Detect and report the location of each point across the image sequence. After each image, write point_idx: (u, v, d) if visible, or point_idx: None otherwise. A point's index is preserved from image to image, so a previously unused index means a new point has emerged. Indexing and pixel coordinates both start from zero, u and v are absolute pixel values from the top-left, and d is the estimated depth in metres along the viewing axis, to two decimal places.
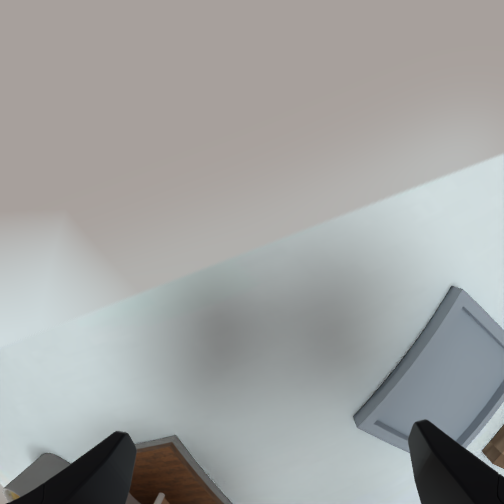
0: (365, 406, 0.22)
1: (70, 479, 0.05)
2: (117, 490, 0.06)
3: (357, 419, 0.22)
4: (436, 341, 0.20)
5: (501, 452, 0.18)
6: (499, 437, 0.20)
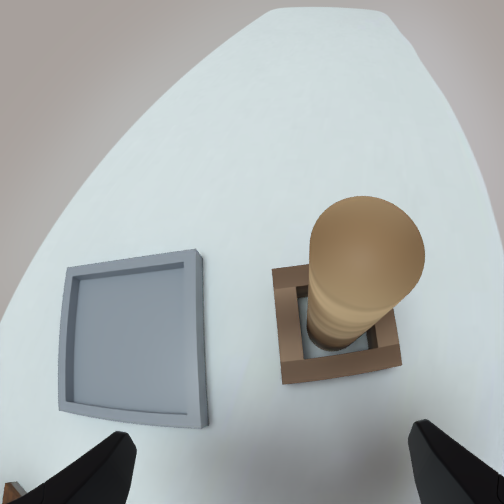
0: None
1: (69, 479, 0.05)
2: (117, 490, 0.06)
3: None
4: (65, 312, 0.24)
5: (280, 361, 0.19)
6: None
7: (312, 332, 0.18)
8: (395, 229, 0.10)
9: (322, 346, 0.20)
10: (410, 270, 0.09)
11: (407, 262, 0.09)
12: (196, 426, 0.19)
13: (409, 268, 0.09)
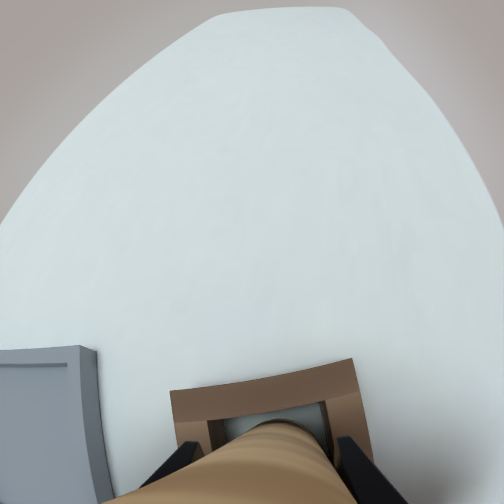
0: None
1: None
2: None
3: None
4: None
5: None
6: None
7: None
8: None
9: None
10: None
11: None
12: None
13: None
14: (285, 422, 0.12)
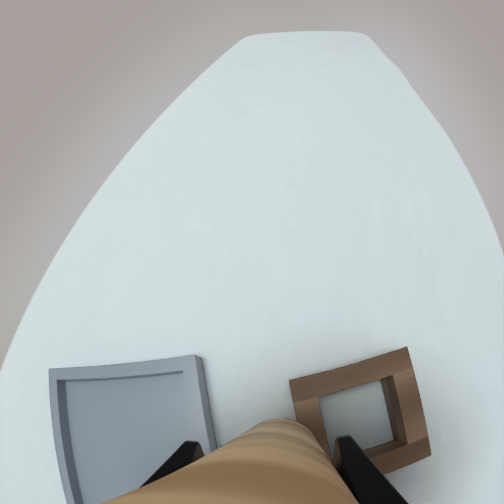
0: None
1: None
2: None
3: None
4: (56, 419, 0.18)
5: None
6: None
7: None
8: None
9: None
10: None
11: None
12: None
13: None
14: (285, 422, 0.12)
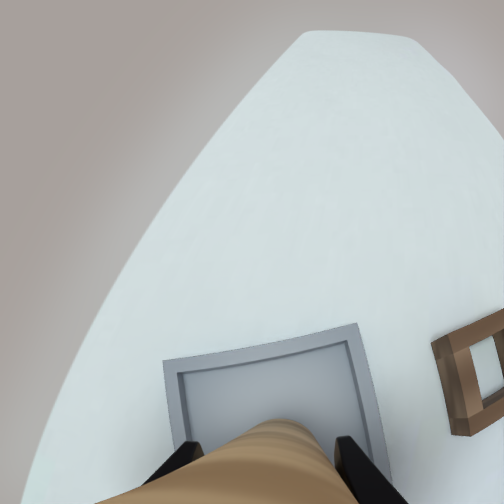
0: None
1: None
2: None
3: None
4: (178, 421, 0.18)
5: (466, 417, 0.14)
6: (451, 405, 0.17)
7: None
8: None
9: None
10: None
11: None
12: None
13: None
14: (285, 422, 0.12)
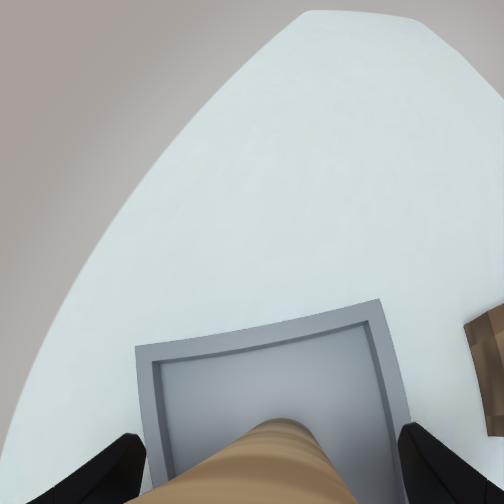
0: None
1: (80, 483, 0.05)
2: (128, 493, 0.06)
3: None
4: (152, 423, 0.14)
5: None
6: (489, 400, 0.12)
7: None
8: None
9: None
10: None
11: None
12: None
13: None
14: (286, 421, 0.12)
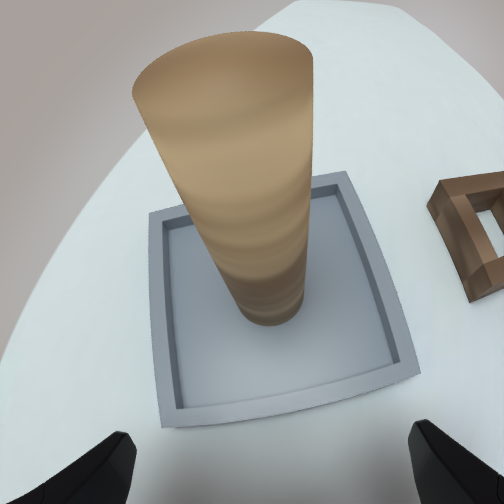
0: None
1: (70, 479, 0.05)
2: (117, 490, 0.06)
3: None
4: (158, 269, 0.18)
5: (481, 263, 0.14)
6: (461, 263, 0.17)
7: (230, 291, 0.14)
8: (263, 45, 0.06)
9: (252, 316, 0.16)
10: (286, 71, 0.05)
11: (281, 65, 0.05)
12: (415, 372, 0.13)
13: (284, 69, 0.05)
14: None
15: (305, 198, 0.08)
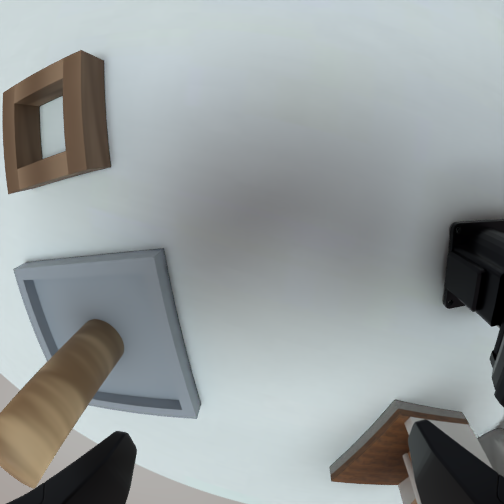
0: None
1: (69, 479, 0.05)
2: (117, 490, 0.06)
3: None
4: (99, 402, 0.23)
5: (69, 174, 0.16)
6: (75, 175, 0.18)
7: None
8: None
9: (115, 364, 0.20)
10: (3, 455, 0.08)
11: (0, 454, 0.08)
12: (152, 262, 0.18)
13: (3, 455, 0.08)
14: None
15: (38, 409, 0.12)
